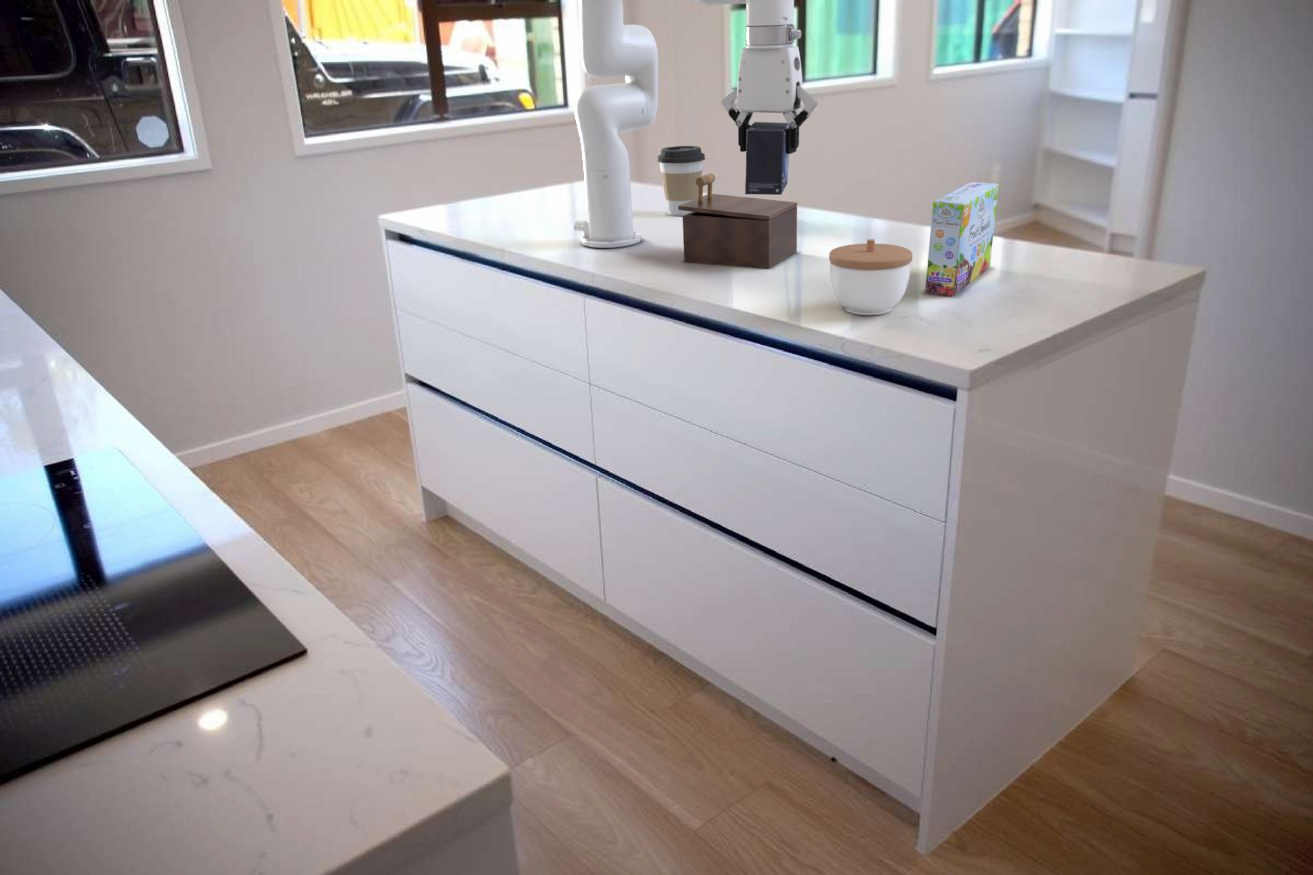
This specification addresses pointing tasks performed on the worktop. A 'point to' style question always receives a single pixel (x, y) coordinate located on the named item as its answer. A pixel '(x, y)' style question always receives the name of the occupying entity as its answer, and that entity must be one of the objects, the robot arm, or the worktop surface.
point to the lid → (734, 203)
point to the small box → (766, 158)
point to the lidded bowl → (869, 276)
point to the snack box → (961, 237)
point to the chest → (739, 239)
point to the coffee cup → (680, 175)
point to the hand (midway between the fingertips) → (768, 151)
